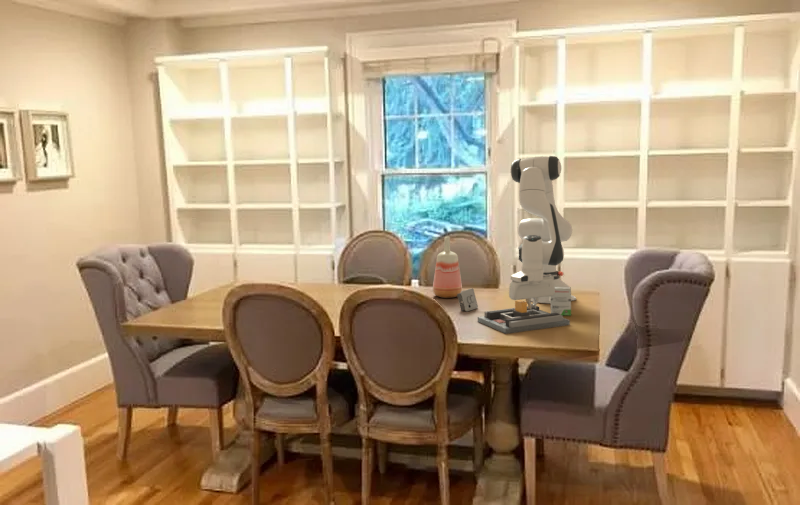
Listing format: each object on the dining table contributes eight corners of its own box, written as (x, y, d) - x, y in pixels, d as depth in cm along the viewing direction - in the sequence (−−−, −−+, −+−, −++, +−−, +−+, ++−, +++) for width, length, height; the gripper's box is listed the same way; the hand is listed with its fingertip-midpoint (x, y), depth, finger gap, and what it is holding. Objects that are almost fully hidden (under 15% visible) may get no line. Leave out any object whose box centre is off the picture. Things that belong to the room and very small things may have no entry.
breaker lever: (521, 316, 276) (521, 299, 275) (529, 319, 270) (529, 302, 269) (512, 317, 274) (512, 300, 273) (520, 320, 269) (520, 303, 268)
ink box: (571, 313, 288) (571, 286, 287) (571, 315, 284) (571, 288, 282) (550, 312, 290) (550, 286, 289) (550, 315, 286) (550, 288, 284)
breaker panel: (538, 313, 289) (538, 304, 288) (569, 324, 268) (569, 315, 268) (477, 321, 277) (477, 312, 277) (505, 333, 257) (505, 323, 257)
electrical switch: (467, 312, 295) (465, 291, 294) (457, 311, 298) (455, 291, 297) (478, 308, 302) (476, 288, 301) (468, 308, 305) (467, 288, 305)
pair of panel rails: (533, 310, 287) (533, 304, 286) (563, 320, 267) (563, 314, 267) (484, 316, 278) (484, 310, 277) (511, 327, 258) (511, 321, 258)
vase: (467, 295, 332) (466, 236, 327) (453, 300, 320) (452, 239, 315) (441, 292, 339) (441, 234, 335) (427, 297, 327) (426, 237, 323)
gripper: (549, 272, 278) (548, 304, 280) (507, 276, 271) (507, 309, 273) (558, 274, 273) (557, 307, 275) (515, 278, 265) (515, 312, 267)
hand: (532, 308), depth 273 cm, fingers closed
